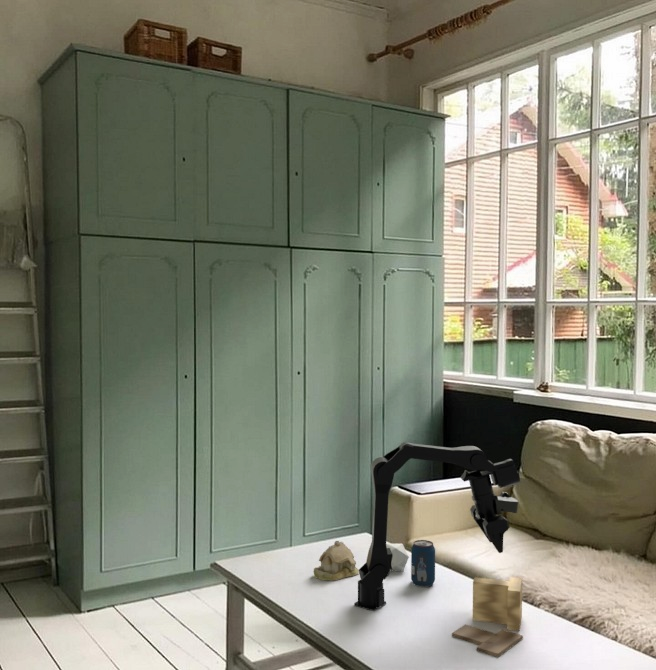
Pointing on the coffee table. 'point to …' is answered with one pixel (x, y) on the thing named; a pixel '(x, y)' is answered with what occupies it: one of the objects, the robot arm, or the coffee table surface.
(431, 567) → the soda can
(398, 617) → the coffee table surface
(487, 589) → the oak T block
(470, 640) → the walnut T outline
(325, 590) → the coffee table surface
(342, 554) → the ceramic model
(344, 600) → the coffee table surface
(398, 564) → the white polyhedron
